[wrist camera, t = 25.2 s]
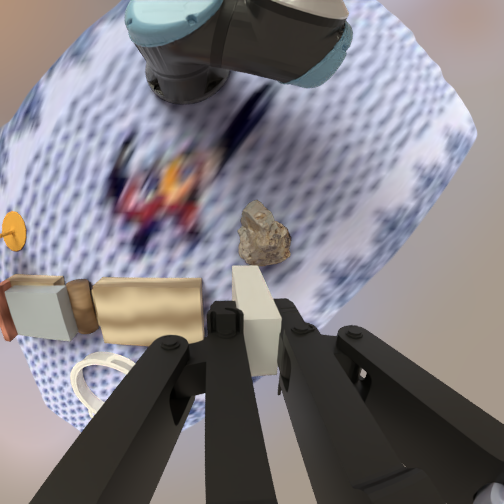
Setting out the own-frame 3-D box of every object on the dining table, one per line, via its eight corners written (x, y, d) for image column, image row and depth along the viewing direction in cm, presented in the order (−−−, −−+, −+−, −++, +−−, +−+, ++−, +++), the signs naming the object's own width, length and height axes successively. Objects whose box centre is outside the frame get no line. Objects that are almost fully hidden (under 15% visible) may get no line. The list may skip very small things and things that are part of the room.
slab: (14, 285, 41) (4, 291, 37) (66, 285, 42) (56, 293, 38) (26, 326, 43) (18, 334, 39) (78, 331, 45) (70, 341, 41)
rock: (241, 256, 52) (278, 284, 46) (203, 232, 43) (243, 264, 37) (269, 217, 52) (308, 241, 46) (237, 186, 43) (282, 210, 37)
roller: (91, 278, 47) (71, 279, 46) (83, 287, 43) (61, 288, 42) (101, 322, 50) (81, 322, 49) (95, 334, 45) (74, 334, 44)
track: (15, 274, 44) (-11, 289, 34) (201, 277, 49) (197, 301, 39) (26, 320, 47) (5, 340, 37) (204, 333, 52) (202, 365, 42)
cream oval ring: (140, 429, 59) (137, 441, 54) (70, 392, 54) (64, 403, 49) (179, 369, 54) (177, 383, 50) (90, 320, 49) (82, 331, 45)
